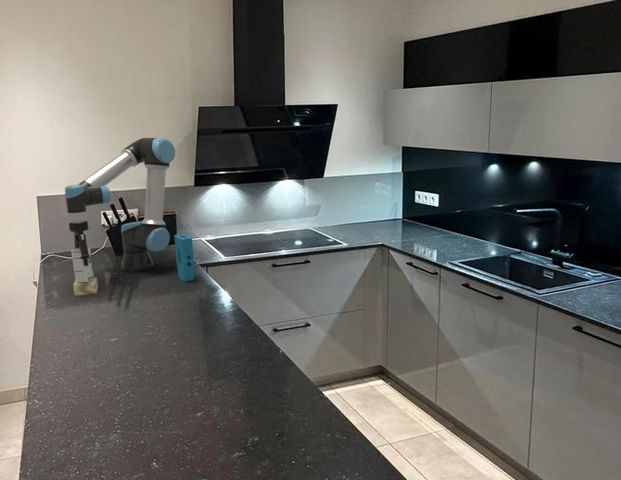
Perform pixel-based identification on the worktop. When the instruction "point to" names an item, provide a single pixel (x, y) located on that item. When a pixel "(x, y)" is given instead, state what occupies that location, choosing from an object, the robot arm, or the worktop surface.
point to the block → (184, 257)
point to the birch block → (85, 287)
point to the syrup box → (78, 266)
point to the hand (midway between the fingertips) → (83, 269)
